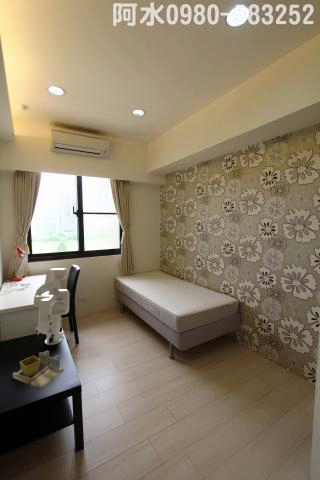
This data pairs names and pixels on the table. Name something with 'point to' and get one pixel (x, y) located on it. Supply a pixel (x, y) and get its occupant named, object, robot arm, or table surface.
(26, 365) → the flower pot
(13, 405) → the table surface
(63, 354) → the table surface
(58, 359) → the beige l-shaped piece
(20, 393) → the table surface
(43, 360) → the wooden frame with block
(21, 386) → the table surface
